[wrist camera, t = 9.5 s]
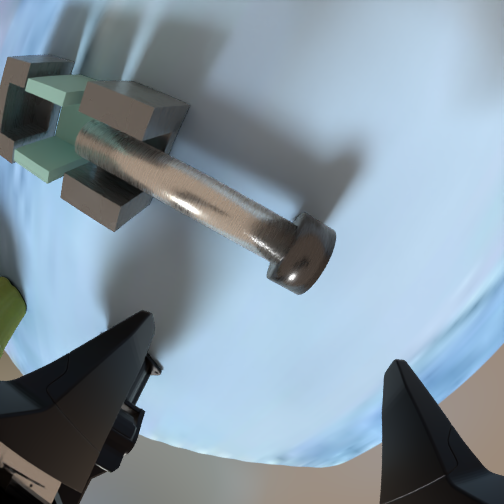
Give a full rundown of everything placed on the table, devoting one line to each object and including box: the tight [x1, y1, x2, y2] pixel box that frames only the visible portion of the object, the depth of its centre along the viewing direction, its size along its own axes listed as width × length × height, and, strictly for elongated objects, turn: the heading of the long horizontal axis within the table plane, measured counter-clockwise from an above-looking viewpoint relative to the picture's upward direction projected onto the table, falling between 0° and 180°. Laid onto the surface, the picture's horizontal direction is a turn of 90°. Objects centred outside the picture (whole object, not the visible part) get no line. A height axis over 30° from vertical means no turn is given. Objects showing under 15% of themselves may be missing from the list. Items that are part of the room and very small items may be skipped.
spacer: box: [14, 74, 97, 184], centre depth 15 cm, size 4×6×6 cm
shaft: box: [75, 119, 336, 295], centre depth 16 cm, size 16×4×4 cm, turn 62°
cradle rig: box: [0, 55, 190, 232], centre depth 15 cm, size 16×8×5 cm, turn 62°
